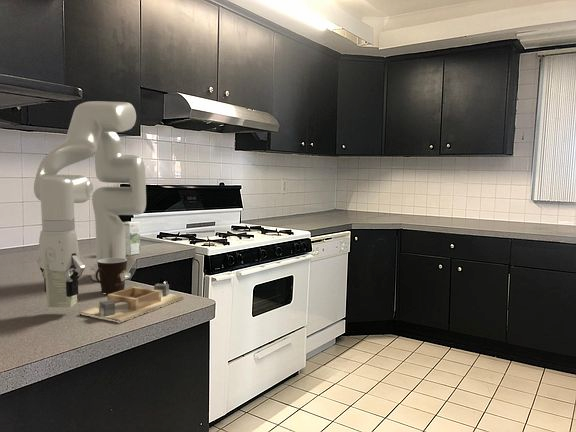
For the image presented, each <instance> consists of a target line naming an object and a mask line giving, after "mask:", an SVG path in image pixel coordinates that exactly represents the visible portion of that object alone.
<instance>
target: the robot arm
mask: <svg viewBox="0 0 576 432" xmlns="http://www.w3.org/2000/svg"><path fill="white" fill-rule="evenodd" d="M136 121H137V113H136V109H135V107H134V106H133V104H132V103H130V102H126V101H103V100H102V101H101V100H100V101H99V100H97V101H95V100H94V101H93V100H92V101H91V100H90V101H86V102H85V101H84V102H81V103H79V104H78V105H77V106H76V107H75V108H74V110H73V113H72V117H71V120H70V123H69V127H68V129H67V130H68V131H67V133H66V137H65V140H64V142H62V143H61V144H59V145H57V146H56V147H55V148H53V149H52V150H51V151H50V152H49V153H48V154H46V156H44V158H43V159H42V160H41V161H40V163H39V166H38V167H37V171H36V174H35V178H34V182H33V193H34V196H35V198H37V200H38V201H40V209H41V210H40V212H41V213H40V214H41V229H42V230H40V233H39V241H38V258H37V259H36V263H37V264H38V266H39V270H40V271H41V273H42V274H41V275H42V277H43V280H44V281H43V282H44V292H45V293H46V281H45V268H44V262H49V270H51V271H56V272H65V275H66V277H67V280H68V281H67V282H66V295H67V297H71V296H74V295H77V296H78V295H79V280H80V279H81V278H80V277H82V274H83V272H84V271H85V269H86V266H85V265H84V264H83V262H82V261H81V260H80V248H79V242H78V236H77V232H76V225H75V224H76V223H75V204H82V203H86V202H88V201H89V200H90V199H91V202H92V207H93V208H92V209H93V214H94V219H95V260H96V263H94V264H92V266H89V270H91V271H94V273H93V274H92V275H91V279H92V281H95V282H98V281H97V279H96V271H97V270H98V263H97V261H98V260H100V259H105V258H125V259H127V257H126V256H127V255H126V251H125V226H124V224H123V222H124V221H122V220H121V219H122V218H120V217H119V216H139V215H142V214H144V212H146V208H147V186H146V183H147V182H146V180H147V179H146V178H147V177H146V168H145V167H146V166H145V163H144V160H143V159H142V157H140V156H139V155H134V154H123V153H122V140H121V138H120V136H119V134H118V133H123V132H126V131H129V130H131V129H132V128H133V127H134V126H135V124H136ZM93 156H94V165H95V166H94V169H95V175H96V179H97V180H98V181H99V182H102V183H108V184H109V183H111V184H129V185H130V186H101V187H98V188H96V189H95V190H94V185H93V183H92V181H91V179H90V178H88V177H86V176H85V175H82V174H81V175H78V174H58V173H59V172H60V171H61V170H63V169H64V168H67V167H68V166H71V165H74V164H76V163H80V162H83V161H84V160H88V159H90V158H91V157H93ZM70 266H71V269H69V268H70ZM71 271H72V272H73V274H72V275H71V274H70V272H71ZM131 277H132V276H131V273H130V272H128V271H126V277H125V280H128V279H130V278H131ZM98 279H99V280H100V276H99V272H98Z"/></svg>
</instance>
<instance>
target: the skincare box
mask: <svg viewBox="0 0 576 432" xmlns="http://www.w3.org/2000/svg"><path fill="white" fill-rule="evenodd" d="M44 268H45V281H46V292H45V293H46V305H47V306H46V307H47V308H49V309H50V308H53V309H54V308H55V309H56V308H62V309H63V308H72V307H73V306H75V305H76V304H77V303H78V294H77V295H74V296H71V297H67V295H66V282H67V281H68V280H67V277H66V275H65V272H56V271H51V270H49V262H44ZM69 269H71V266H70V268H69ZM70 274H71V275H72V274H73V272H72V271H71V272H70Z"/></svg>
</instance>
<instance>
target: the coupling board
mask: <svg viewBox="0 0 576 432" xmlns="http://www.w3.org/2000/svg"><path fill="white" fill-rule="evenodd" d="M106 296H107V297H106V298H107V299H106V300H102V301H99V304H98V305H95V306H93V307H89V308H87V309H82V310H80V311H79V313H80V312H81V313H85V314H90V315H95V316H98V317H103V318H107V319H112V320H115V321H119V322H121V321H124V320H126V319H129V318H132V317H135V316H137V315H140V314H142V313H145V312H148V311H151V310H154V309H157V308H160V307H162V308H164V307H163V306H165V305H167V306H169V305H168V304H170V305H172V304H171V303H173V302H175V303H177V302H176V301H178V302H180V301H183V300H184V295H179V294H172V293H170V284H169V283H156V284H154V285H153V288H151V289H150V288H146V287H138V286H131V287H129V288H124V290H121V291H118V292H114V293H111V294H108V295H106ZM179 300H180V301H179ZM173 304H174V303H173ZM165 307H166V306H165ZM160 309H161V308H160ZM157 310H158V309H157Z"/></svg>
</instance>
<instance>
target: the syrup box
mask: <svg viewBox="0 0 576 432" xmlns="http://www.w3.org/2000/svg"><path fill="white" fill-rule="evenodd" d="M122 222H123V224H124V226H125V251H126V256H129V257H130V256H137V255H140V254H141V222H140V221H136V220H131V221H122Z"/></svg>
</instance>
